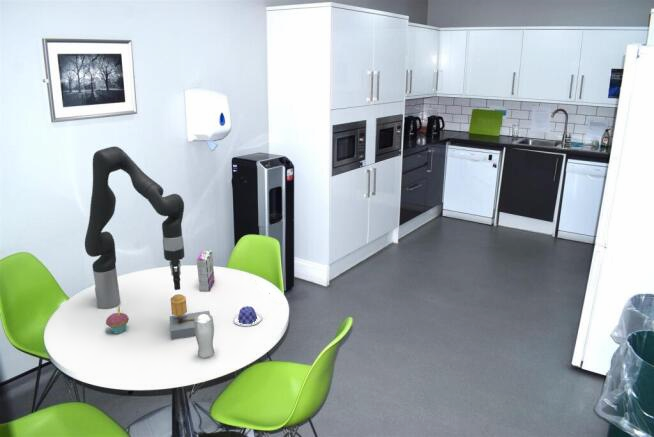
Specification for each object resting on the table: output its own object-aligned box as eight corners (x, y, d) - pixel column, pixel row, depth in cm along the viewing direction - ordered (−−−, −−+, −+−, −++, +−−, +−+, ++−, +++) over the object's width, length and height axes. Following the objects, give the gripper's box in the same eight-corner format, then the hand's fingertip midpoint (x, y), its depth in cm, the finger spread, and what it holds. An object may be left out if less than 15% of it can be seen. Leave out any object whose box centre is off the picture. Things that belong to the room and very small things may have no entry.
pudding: (228, 318, 220) (227, 307, 219) (252, 310, 227) (252, 299, 226) (242, 330, 211) (241, 319, 210) (267, 321, 218) (266, 310, 217)
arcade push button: (172, 316, 204) (170, 300, 202) (171, 309, 210) (170, 294, 208) (187, 314, 206) (185, 298, 204) (186, 307, 211) (185, 292, 209)
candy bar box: (204, 281, 254) (202, 250, 249) (214, 281, 254) (212, 250, 249) (198, 291, 244) (196, 259, 238) (209, 291, 244) (207, 259, 238)
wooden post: (177, 323, 208) (175, 303, 205) (177, 321, 210) (175, 301, 207) (183, 322, 209) (181, 302, 206) (182, 320, 210) (180, 300, 208)
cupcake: (134, 326, 213) (131, 300, 209) (120, 337, 206) (116, 310, 202) (117, 323, 216) (113, 297, 212) (102, 333, 208) (98, 306, 204)
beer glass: (198, 349, 198) (195, 314, 193) (216, 348, 198) (214, 313, 194) (195, 359, 191) (192, 323, 186) (214, 358, 192) (211, 322, 187)
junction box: (171, 339, 204) (170, 328, 202) (170, 324, 215) (169, 314, 213) (212, 333, 209) (212, 322, 207) (209, 319, 219) (209, 308, 218)
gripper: (162, 240, 204) (166, 278, 209) (163, 254, 191) (167, 294, 197) (182, 238, 206) (185, 276, 212) (184, 252, 193) (188, 291, 199)
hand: (176, 284), depth 204 cm, fingers open, 8 cm apart
